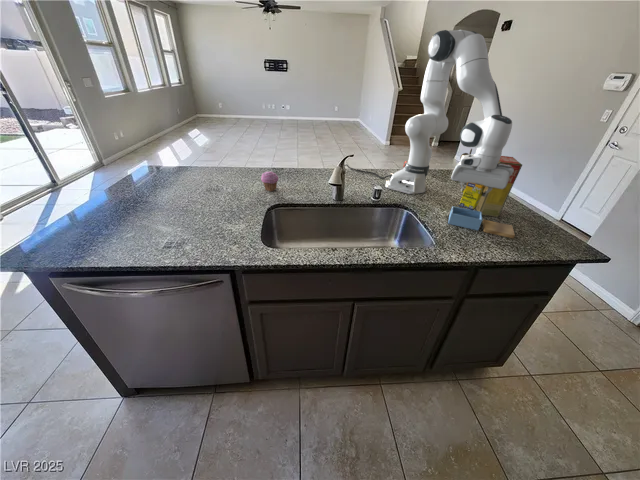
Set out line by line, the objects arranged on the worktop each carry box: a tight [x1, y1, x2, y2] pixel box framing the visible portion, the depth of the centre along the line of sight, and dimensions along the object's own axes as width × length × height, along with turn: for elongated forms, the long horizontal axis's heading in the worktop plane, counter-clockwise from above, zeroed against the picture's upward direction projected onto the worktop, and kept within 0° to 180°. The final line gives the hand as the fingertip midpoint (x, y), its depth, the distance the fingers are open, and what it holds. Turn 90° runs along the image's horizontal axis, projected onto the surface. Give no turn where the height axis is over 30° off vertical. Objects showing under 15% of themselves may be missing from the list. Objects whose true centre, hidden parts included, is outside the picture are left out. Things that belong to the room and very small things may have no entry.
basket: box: [447, 205, 483, 231], centre depth 118 cm, size 12×9×5 cm
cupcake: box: [261, 171, 279, 192], centre depth 141 cm, size 9×9×10 cm
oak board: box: [482, 219, 516, 239], centre depth 114 cm, size 11×10×2 cm
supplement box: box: [458, 182, 485, 210], centre depth 112 cm, size 6×6×11 cm
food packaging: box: [475, 155, 523, 218], centre depth 124 cm, size 13×9×25 cm
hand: (472, 194), depth 112 cm, fingers closed on supplement box, 7 cm apart
